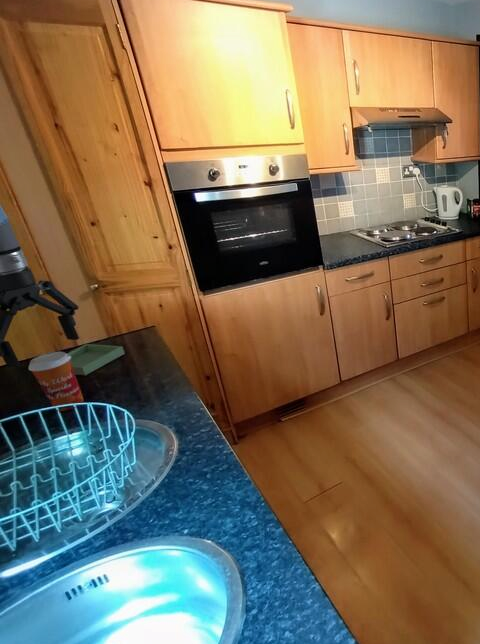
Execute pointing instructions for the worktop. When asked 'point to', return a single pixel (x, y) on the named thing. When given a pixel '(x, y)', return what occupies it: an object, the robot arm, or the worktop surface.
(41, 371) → the paper cup
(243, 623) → the worktop surface
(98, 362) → the tray
